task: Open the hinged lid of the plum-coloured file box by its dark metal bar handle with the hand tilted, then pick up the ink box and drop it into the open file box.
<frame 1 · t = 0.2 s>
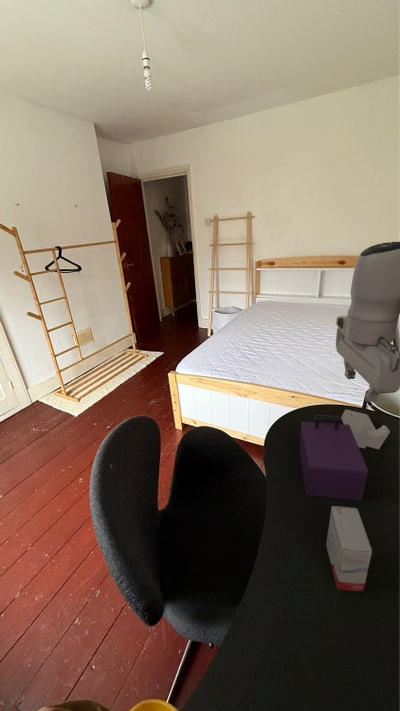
hand: (359, 388, 65), 27 cm above the table, tool pointing down, fingers open, 8 cm apart
file box: (327, 472, 79), on the table
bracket: (361, 434, 91), on the table
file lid: (331, 438, 74), point 11 cm above the table, hinge at 0.0°
ink box: (342, 567, 58), on the table
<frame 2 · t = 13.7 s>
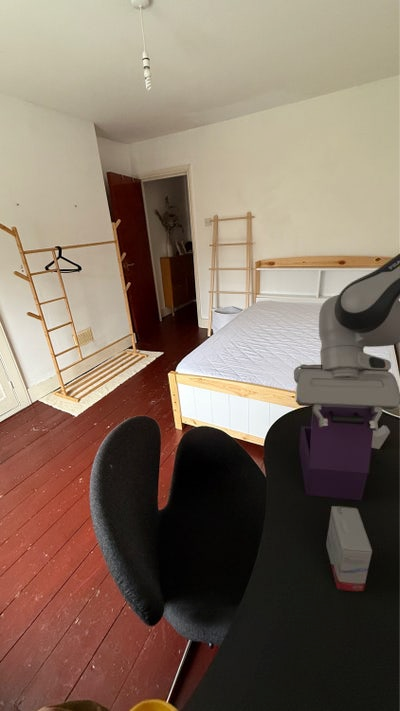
hand: (347, 428, 61), 22 cm above the table, tool tilted 45°, fingers open, 8 cm apart
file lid: (343, 441, 64), point 18 cm above the table, hinge at 77.3°, touching gripper
everything else where it was.
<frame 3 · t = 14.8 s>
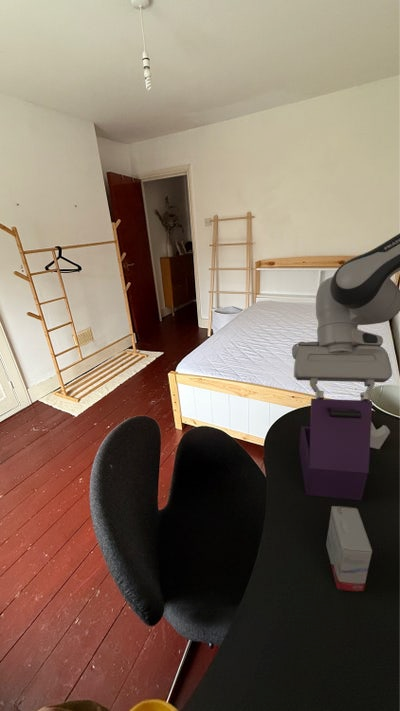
hand: (342, 400, 65), 25 cm above the table, tool tilted 45°, fingers open, 8 cm apart
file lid: (341, 438, 65), point 18 cm above the table, hinge at 69.5°, touching gripper
everything else where it was.
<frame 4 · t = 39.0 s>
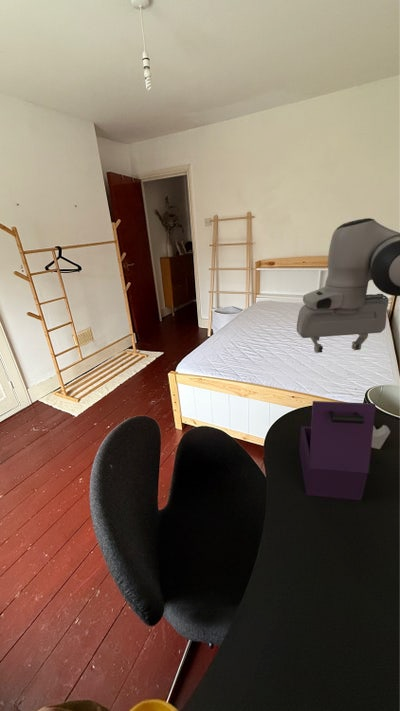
hand: (336, 350, 75), 31 cm above the table, tool pointing down, fingers open, 8 cm apart
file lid: (343, 441, 64), point 18 cm above the table, hinge at 76.7°
ink box: (324, 469, 79), point 1 cm above the table, touching file box
everything else where it was.
at the end: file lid at +77° (first picture: +0°); ink box inside the target area in the file box (0.9 cm from its centre), point 0.6 cm above the file box's base; ink box tilted 0° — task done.
